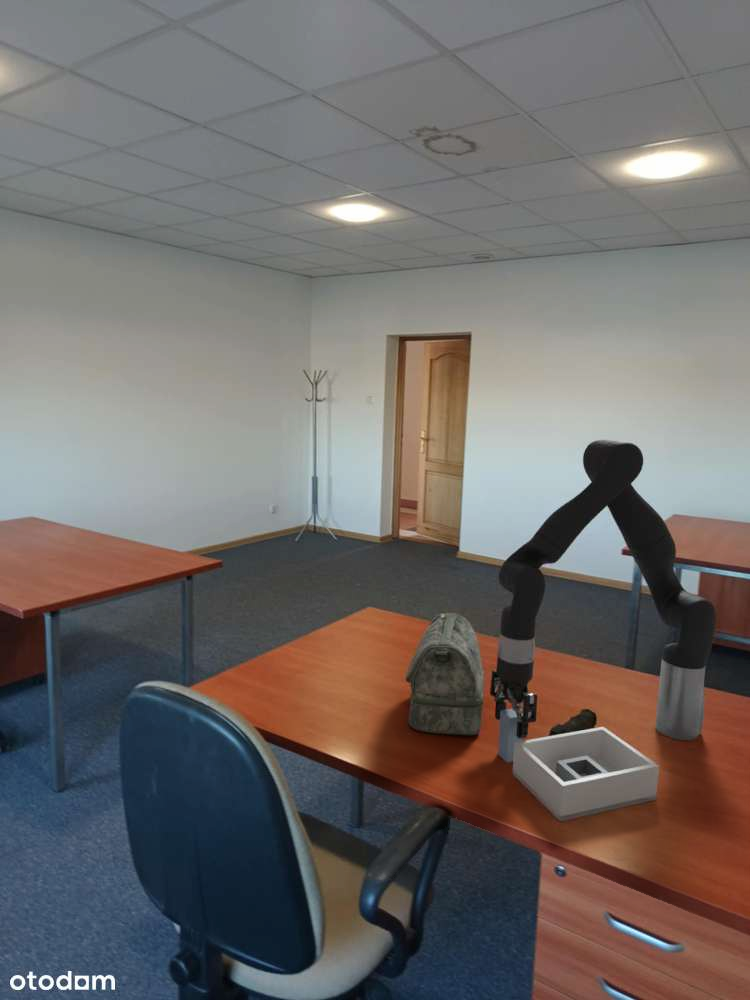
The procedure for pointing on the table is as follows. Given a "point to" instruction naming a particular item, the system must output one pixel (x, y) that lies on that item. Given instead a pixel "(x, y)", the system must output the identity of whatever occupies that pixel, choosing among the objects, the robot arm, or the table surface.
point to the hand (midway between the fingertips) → (510, 727)
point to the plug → (507, 734)
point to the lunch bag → (447, 678)
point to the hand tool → (576, 723)
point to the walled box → (584, 772)
